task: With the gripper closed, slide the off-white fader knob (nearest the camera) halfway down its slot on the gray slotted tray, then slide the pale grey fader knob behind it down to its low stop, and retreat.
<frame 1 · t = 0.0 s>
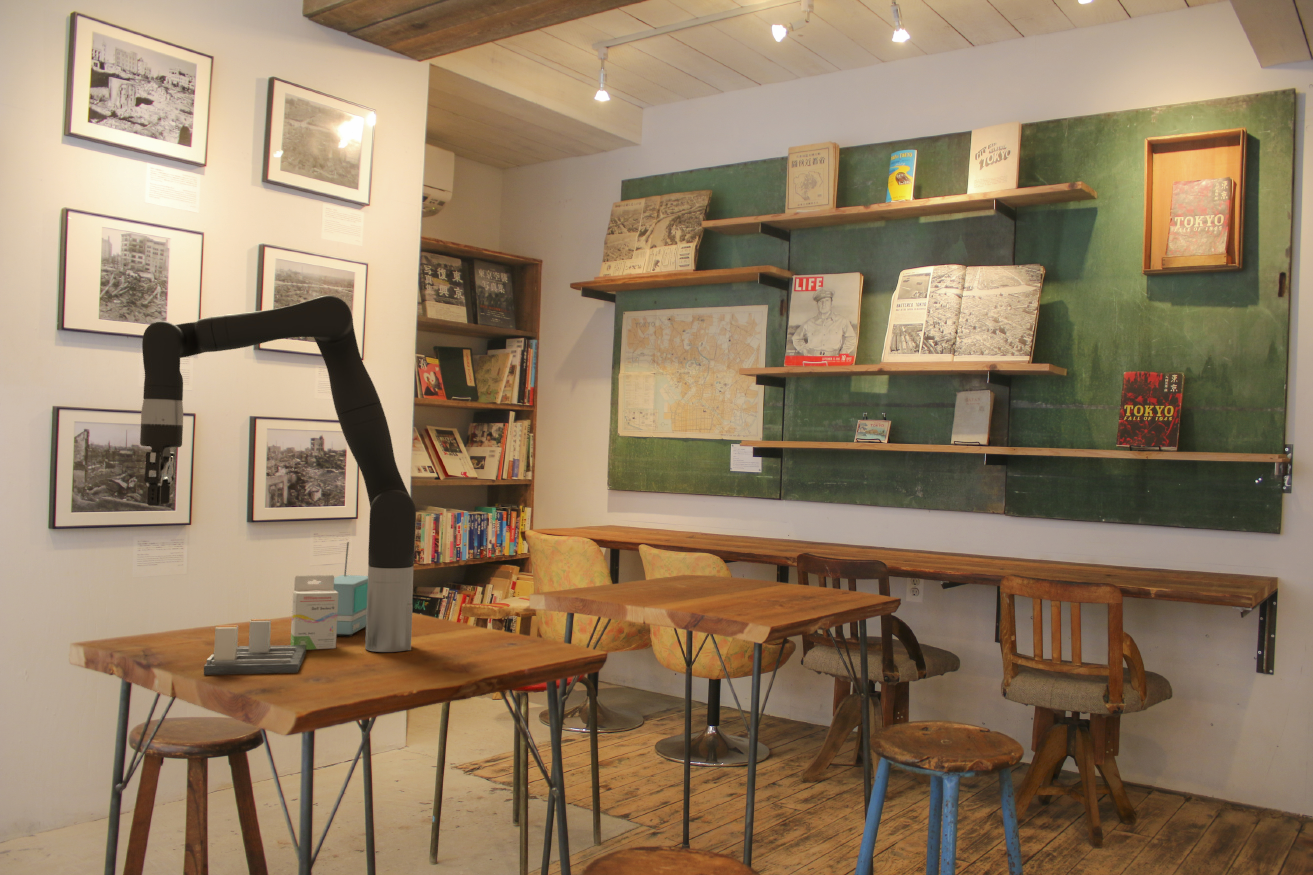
hand: (158, 504, 200), 29 cm above the table, fingers open, 8 cm apart
gray slotted tray: (257, 663, 192), on the table
radio: (347, 632, 229), on the table
fader far: (258, 661, 194), resting on gray slotted tray, slide at 0.0 cm
fader near: (225, 669, 186), resting on gray slotted tray, slide at 0.0 cm
ink box: (313, 648, 210), on the table
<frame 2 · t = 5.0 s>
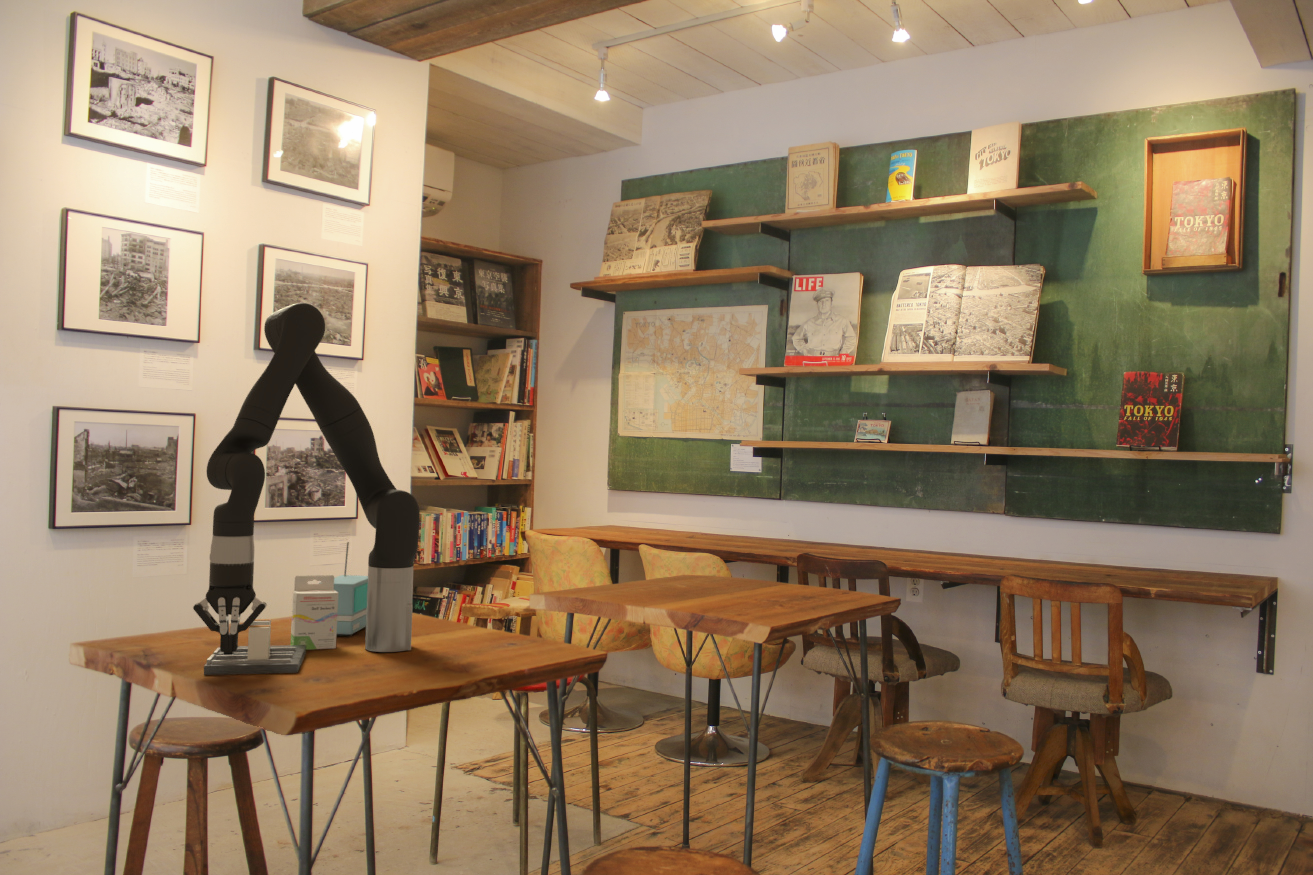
hand: (228, 653, 186), 3 cm above the table, fingers closed
fader near: (258, 669, 187), resting on gray slotted tray, slide at 5.7 cm, touching hand
everything else where it was.
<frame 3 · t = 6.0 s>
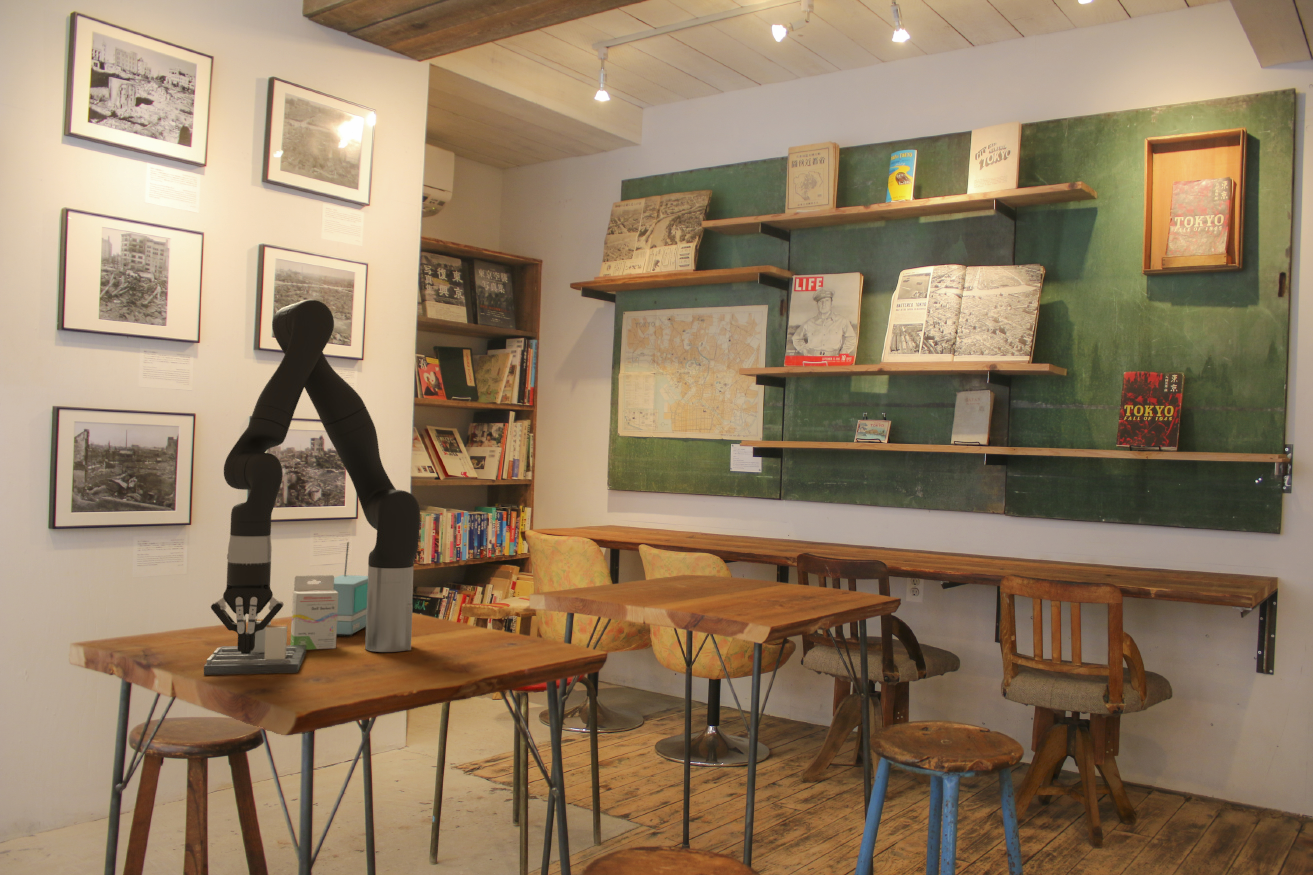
hand: (245, 653, 187), 3 cm above the table, fingers closed
fader near: (274, 668, 188), resting on gray slotted tray, slide at 8.6 cm, touching hand
everything else where it was.
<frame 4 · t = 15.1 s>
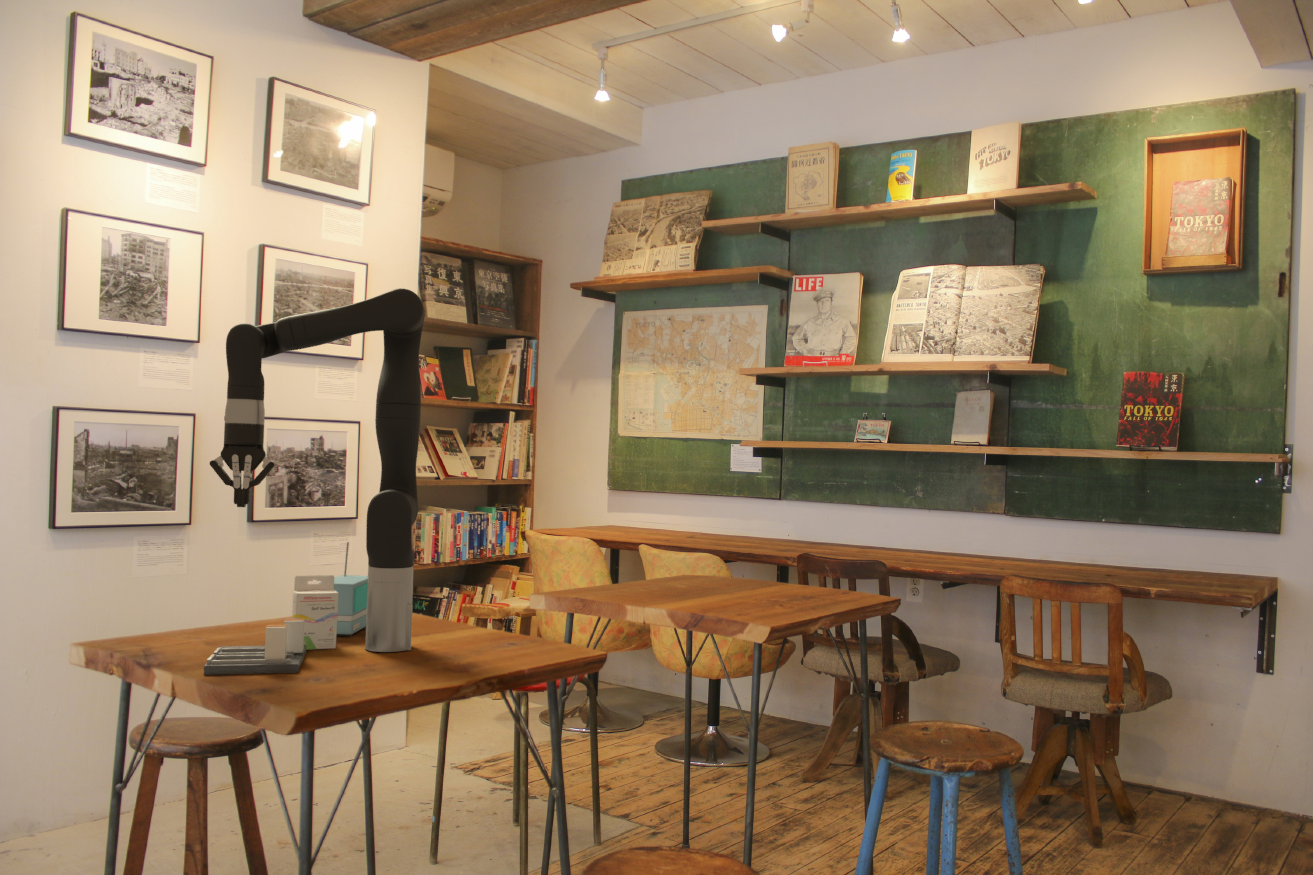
hand: (241, 506, 206), 29 cm above the table, fingers closed
fader far: (292, 660, 195), resting on gray slotted tray, slide at 6.2 cm
fader near: (275, 668, 188), resting on gray slotted tray, slide at 8.7 cm
everything else where it was.
at the end: fader near slide at 8.7 cm; fader far slide at 6.2 cm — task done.
